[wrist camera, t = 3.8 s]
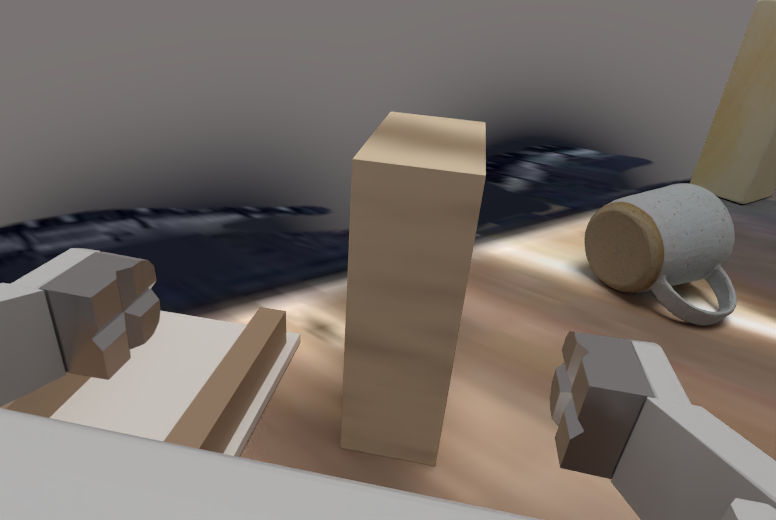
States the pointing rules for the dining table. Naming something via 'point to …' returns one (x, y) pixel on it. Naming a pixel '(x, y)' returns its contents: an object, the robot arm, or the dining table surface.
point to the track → (181, 383)
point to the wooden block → (408, 280)
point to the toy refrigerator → (745, 119)
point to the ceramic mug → (665, 247)
